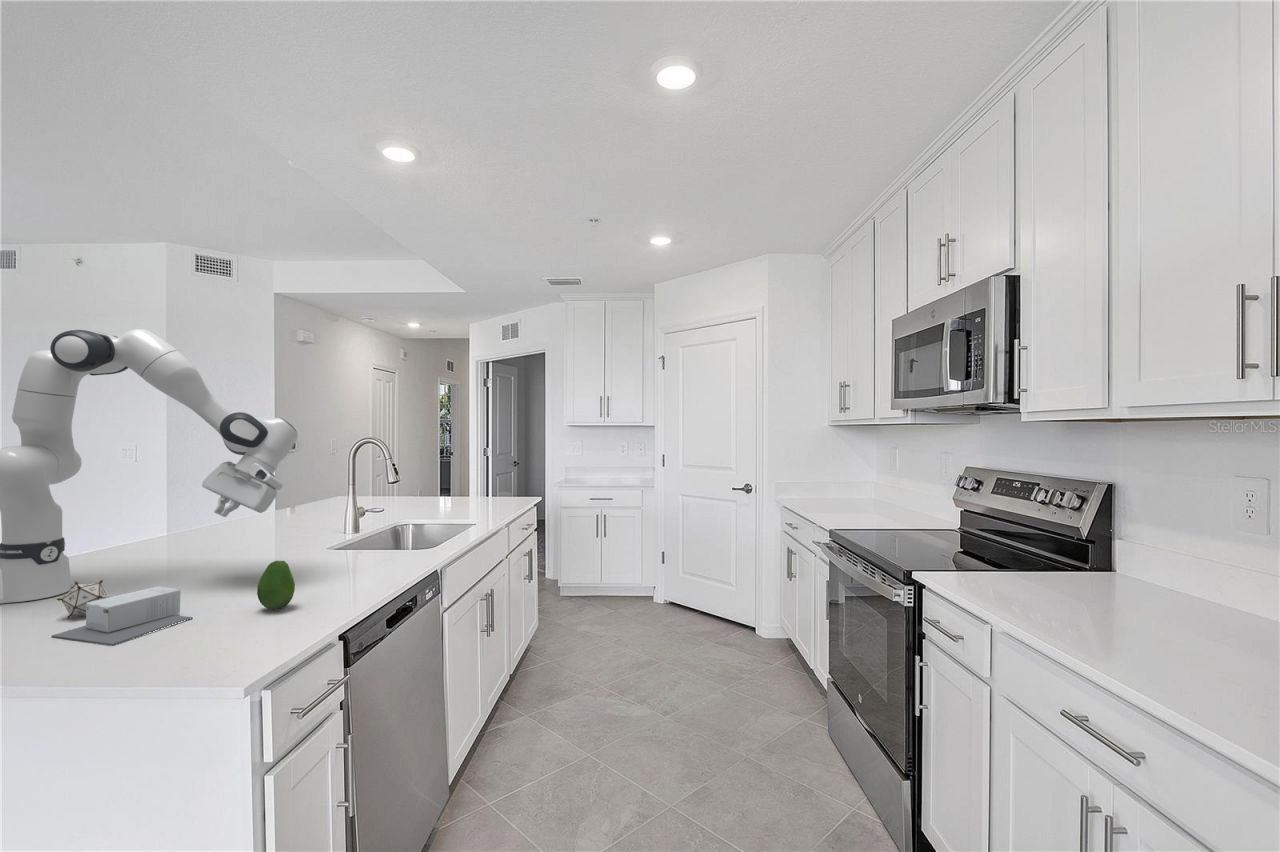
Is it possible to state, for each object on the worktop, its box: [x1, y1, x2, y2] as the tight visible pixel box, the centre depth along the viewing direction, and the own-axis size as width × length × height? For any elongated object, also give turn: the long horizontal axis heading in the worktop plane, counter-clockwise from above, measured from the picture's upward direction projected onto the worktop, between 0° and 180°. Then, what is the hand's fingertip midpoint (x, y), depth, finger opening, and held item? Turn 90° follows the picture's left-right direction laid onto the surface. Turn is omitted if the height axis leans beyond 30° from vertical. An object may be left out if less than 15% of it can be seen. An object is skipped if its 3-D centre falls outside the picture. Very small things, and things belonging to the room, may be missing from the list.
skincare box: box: [85, 585, 181, 633], centre depth 136 cm, size 8×6×15 cm
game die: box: [56, 579, 109, 619], centre depth 140 cm, size 9×8×10 cm
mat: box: [51, 614, 193, 647], centre depth 133 cm, size 17×17×1 cm
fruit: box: [256, 560, 296, 611], centre depth 147 cm, size 8×8×12 cm
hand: (219, 514), depth 161 cm, fingers closed
